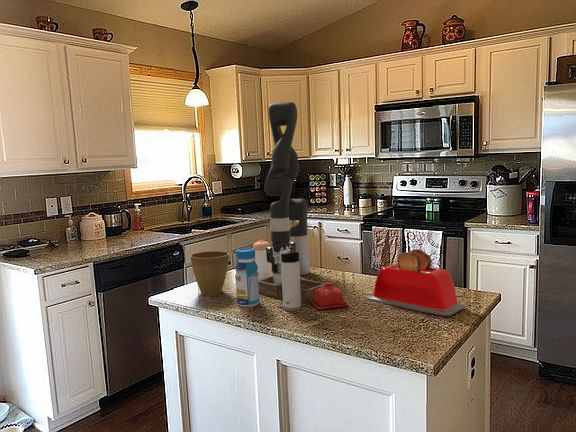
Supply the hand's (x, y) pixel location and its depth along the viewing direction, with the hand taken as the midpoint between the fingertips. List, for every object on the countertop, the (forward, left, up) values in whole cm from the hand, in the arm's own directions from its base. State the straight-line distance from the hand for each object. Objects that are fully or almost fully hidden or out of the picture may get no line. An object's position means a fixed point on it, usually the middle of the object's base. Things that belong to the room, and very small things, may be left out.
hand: (282, 271), depth 188 cm
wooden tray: (0, +5, -8) cm, 10 cm away
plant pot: (+19, -21, -9) cm, 29 cm away
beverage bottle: (+19, +1, -9) cm, 21 cm away
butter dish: (+3, +26, -9) cm, 27 cm away
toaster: (-17, +48, -9) cm, 51 cm away
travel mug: (+13, +18, -9) cm, 24 cm away
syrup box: (0, 0, -6) cm, 6 cm away
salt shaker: (-2, -14, -9) cm, 16 cm away
